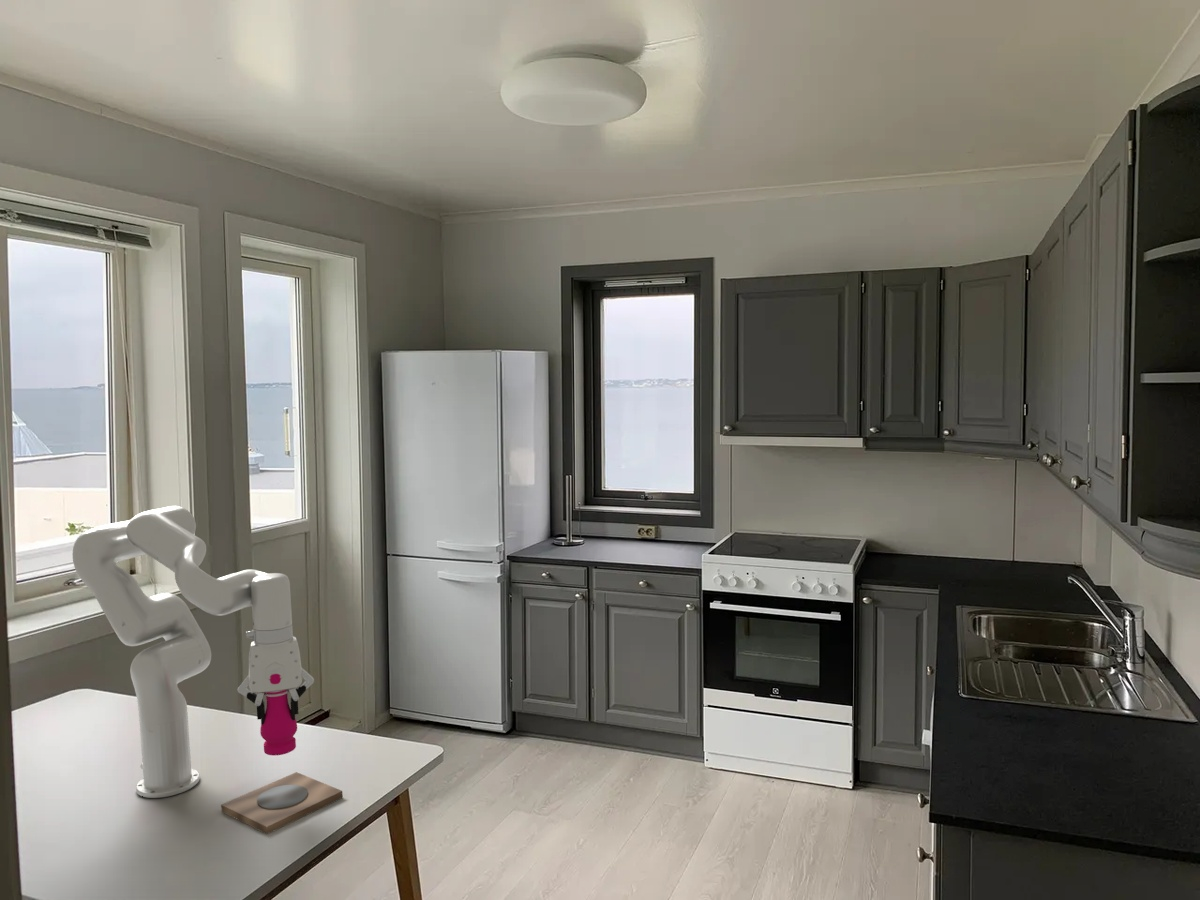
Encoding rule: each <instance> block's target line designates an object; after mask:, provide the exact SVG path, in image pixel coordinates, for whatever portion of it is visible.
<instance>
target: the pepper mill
mask: <svg viewBox="0 0 1200 900" xmlns="http://www.w3.org/2000/svg"><path fill="white" fill-rule="evenodd" d="M280 676H281V675H279V674H273V675H271V676H270V679H269V680H270V683H272V684H279V683H280V681H281V678H282V677H281V678H280ZM288 693H290V691H289V690H283V691H274V692H267V693H264V695H263V696H265V698H266V699H265V700H266V708H265V722H264V724H262V725H261V724H260V730H259V731H260V736H261V738H262V739H263V740H264V742H263V751H264V754H265V755H267V756H282V755H286V754H289V753H291V752H293V751H295V749H296V747H297V743H296V742H297V740H296V737H294V736H295V735H296V733H297V731H298V723H297V722H298V721H297V718H295V720H293V719H291V706H290V704H289V700H288V699H289V698H288Z"/></svg>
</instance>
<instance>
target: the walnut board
mask: <svg viewBox="0 0 1200 900" xmlns="http://www.w3.org/2000/svg"><path fill="white" fill-rule="evenodd" d="M342 797H343V790H340V789H339V788H337V787H333V786H331V785H329V784H326V783H324V782H321V781H319V780H317V779H314V778H312V777H310V776H307V775H305V774H302V773H300V772H297V771H295V772H294V773H291V774H289V775H287V776H284V777H282V778H280V779H277V780H275V781H273V782H271V783H268V784H265V785H264V786H261V787H259V788H256V789H254V790H252V791H250V792H248V793H245V794H243V795H240V796H237V797H235V798H233V799H231V800H229V801H226V802H223V803H222V804H220V809H221V812H222V813H223V812H224V814H225V813H226V815H227V814H228V816H229V815H230V816H229V817H231V816H232V817H231V818H233V817H235V818H237V819H236V820H237V821H240V822H242V823H244V824H246V823H247V824H246V825H248V826H250V827H252V828H254V829H255V830H257V831H259V832H262V833H263V834H266V835H269V834H270V833H272V832H275V831H277V830H279V829H280V828H283V827H284V826H287V825H289V824H291V823H294V822H295V821H297V820H300V819H301V818H304V817H306V816H308V815H310V814H312V813H314V812H317V811H318V810H321V809H323V808H324V807H326V806H328V804H329V805H330V803H331V804H332V802H333V803H334V801H335V802H337V801H339V800H341V799H342ZM340 798H341V799H340ZM343 798H344V797H343ZM338 799H339V800H338ZM336 800H337V801H336ZM303 816H304V817H303ZM235 818H234V819H235Z"/></svg>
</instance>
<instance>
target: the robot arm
mask: <svg viewBox="0 0 1200 900" xmlns="http://www.w3.org/2000/svg"><path fill="white" fill-rule="evenodd" d="M196 529H197V523H196V519H195V517H194V516H193V514H192V513H191V512H190V511H189V510H188V509H186V508H185V507H182V506H178V505H169V506H165V507H159V508H155V509H150V510H146V511H142V512H140V513H138V514H136V515H135V516H134V517H132V518H131V519H129V520H124V521H123V520H122V521H118V522H112V523H108V524H103V525H99V526H95V527H93V528H92V527H91V528H90V529H87V530H86V531H84V532H83V533H81V534H80V535H79V536H78V537H77V538H76V539H75V542H74V544H73V547H72V548H73V549H72V564H73V567H74V570H75V572H76V573H77V575H78V577H79V579H81V581H82V582H83V584H84V585H85V586H86V587H87V589H88V590H89V591H90V592H91V594H93V596H94V597H95V599H96V601H97V603H98V604H99V607H100V608H101V610H102V612H103V614H104V615H105V617H106V619H107V620H108V622H109V624H110V626H111V627H112V629H113V630H114V633H115V634H116V636H117V638H118V639H119V640H120V642H121V643H122V644H123V645H125V646H128V647H137V646H141V645H144V644H148V643H149V642H153V641H155V640H157V639H161V638H163V639H164V640H165V641H161V642H159V643H156V644H154V645H151V646H149V647H146V648H145V649H143V650H141V651H140V652H139V653H138V654H136V655H135V656H134V658H133V660H132V661H131V664H130V670H129V671H130V672H129V673H130V678H131V681H132V686H133V688H134V693H135V696H136V702H137V708H138V709H137V710H138V721H139V732H140V733H139V734H140V747H141V761H142V763H141V764H140V769H141V770H142V775H143V777H142V779H140V780H139V781H138V782H137V784H136V785H135V790H136V791H135V792H136V794H137V795H138V796H140V797H142V796H143V797H142V798H148V799H159V798H160V799H161V798H166V797H167V798H168V797H172V796H175V795H179V794H182V793H184V792H186V791H189V790H190V789H192V788H193V787H195V786H197V784H198V783H199V781H200V777H201V776H200V773H199V771H198V770H196V769H194V768H192V761H191V758H192V757H191V746H190V745H191V744H190V731H189V730H190V729H189V727H190V726H189V713H188V704H187V700H186V697H185V695H184V694H183V693H182V691H181V690H180V688H179V687H178V684H179V683H181V682H183V681H184V680H187V679H190V678H192V677H194V676H196V675H198V674H200V673H202V672H203V671H205V670H206V669H208V667H209V665H210V664H211V661H212V650H211V647H210V644H209V641H208V640H207V638H206V636H205V634H204V632H203V630H202V629H201V627H200V626H199V624H198V622H197V620H196V619H195V617H194V615H193V613H192V612H191V609H190V608H189V606H188V605H187V603H186V602H185V601H184V600H183V599H182V598H181V597H179V596H178V595H176V594H175V593H171V592H162V593H158V594H154V595H151V596H148V595H146V594H145V592H144V591H143V590H142V588H141V587H140V584H139V583H138V581H137V580H136V578H135V577H134V576H133V575H131V574H130V573H129V572H128V571H127V570H125V569H123V568H121V566H120V567H119V566H118V565H117V563H118V562H121V561H126V560H129V559H135V558H139V557H142V556H146V555H148V556H149V557H150V558H151V559H153V560H155V561H156V562H159V563H160V564H161V565H163V566H164V567H165V568H168V570H170V571H172V572H173V573H174V580H175V583H176V586H177V588H178V590H179V592H180V593H181V595H182V596H183V597H184V598H185V600H187V602H189V603H191V604H193V605H194V606H195V607H197V608H199V609H200V610H201V611H203V612H205V613H208V614H210V615H212V616H226V615H229V614H232V613H234V612H238V611H239V610H242V609H246V608H250V607H251V610H252V611H251V612H252V613H251V614H252V627H253V628H252V629H251V630H249V631H245V638H246V639H250V640H251V639H252V640H253V641H251V643H250V646H249V653H248V674H247V675H246V677H245V678H244V679H243V681H242V682H241V683H240V685H239V686H238V687H237V693H238V694H240V695H242V696H243V697H245V698H246V699H248V700H249V701H251V702H252V703H253V704H254V705H255V706H256V718H257V720H260V726H261V725H262V724H264V722H265V712H266V708H265V701H264V698H263V697H264V696H265V695H264V693H267V692H274V691H283V690H289V693H290V695H291V696H290V709H291V719H293V720H295V719H296V715H299V699H300V698H301V697H302V695H303V694H304V693H305V692H306V691H307V689H309V688H310V687H311V686H312V685H313V684H314V683H315V678H314V677H313V676H312V675H311V674H310V673H309V672H308V671H306V670H305V669H304V668H303V667H302V660H301V652H300V647H299V642H298V640H297V637H296V636H294V634H293V633H294V632H293V613H292V602H291V601H292V600H291V599H292V598H291V597H292V596H291V582H290V579H289V577H288V575H286V574H284V573H281V572H280V573H279V572H271V573H268V572H264V571H261V570H258V569H250V568H249V569H244V570H241V571H238V572H232V573H229V574H227V575H224V576H221V577H218V578H216V577H214V576H212V575H210V574H208V573H206V571H204V570H203V569H201V568H200V566H201V564H202V562H203V561H204V559H205V556H206V553H207V545H206V542H205V541H204V540H203V539H202V538H200V537H198V536H197V535H195V533H196ZM273 674H279V675H281V676H280V678H281V677H282V678H281V681H280V683H279V684H272V683H270V680H269V679H270V676H271V675H273ZM303 680H304V681H303ZM302 681H303V682H302ZM248 687H249V688H248Z"/></svg>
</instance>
